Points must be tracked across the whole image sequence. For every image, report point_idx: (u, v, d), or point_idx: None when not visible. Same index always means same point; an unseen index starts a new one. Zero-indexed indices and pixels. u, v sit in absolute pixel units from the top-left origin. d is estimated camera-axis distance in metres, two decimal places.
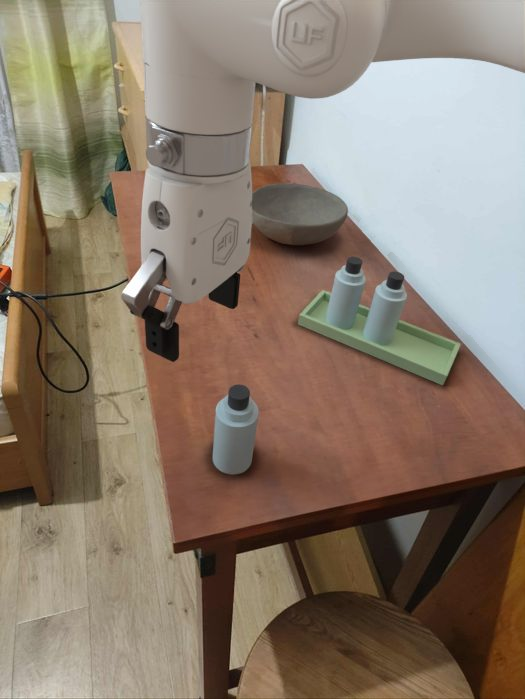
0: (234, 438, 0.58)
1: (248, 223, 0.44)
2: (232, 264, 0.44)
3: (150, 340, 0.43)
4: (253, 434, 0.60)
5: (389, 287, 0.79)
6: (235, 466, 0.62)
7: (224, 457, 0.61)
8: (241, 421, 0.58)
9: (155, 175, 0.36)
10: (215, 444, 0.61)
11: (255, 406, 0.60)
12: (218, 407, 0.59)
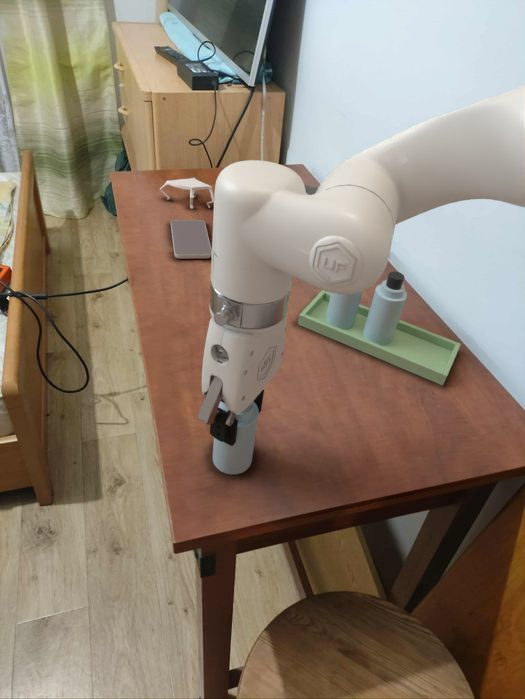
0: None
1: (282, 342, 0.55)
2: (270, 375, 0.55)
3: (215, 430, 0.57)
4: (253, 434, 0.60)
5: (389, 287, 0.79)
6: (235, 466, 0.62)
7: (224, 457, 0.61)
8: (241, 421, 0.58)
9: (217, 326, 0.47)
10: (215, 444, 0.61)
11: (255, 406, 0.60)
12: None
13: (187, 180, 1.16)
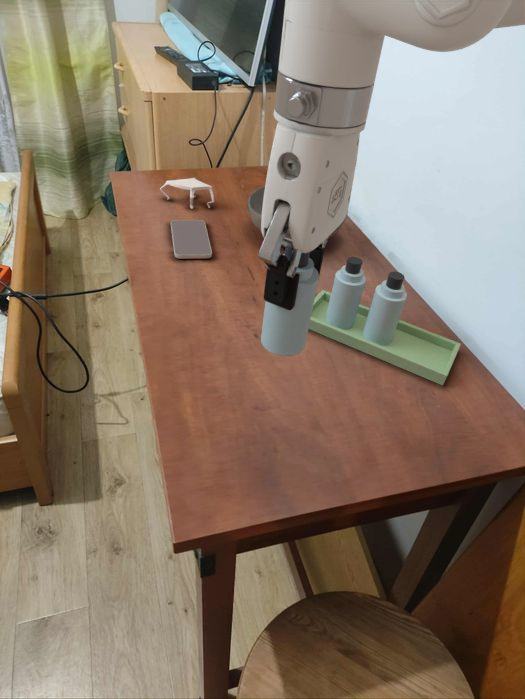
0: None
1: (352, 180, 0.47)
2: (337, 218, 0.47)
3: (272, 289, 0.48)
4: (312, 302, 0.52)
5: (389, 287, 0.79)
6: (289, 344, 0.54)
7: (277, 332, 0.53)
8: (300, 281, 0.50)
9: (287, 128, 0.39)
10: (266, 317, 0.53)
11: (314, 269, 0.52)
12: None
13: (187, 180, 1.16)
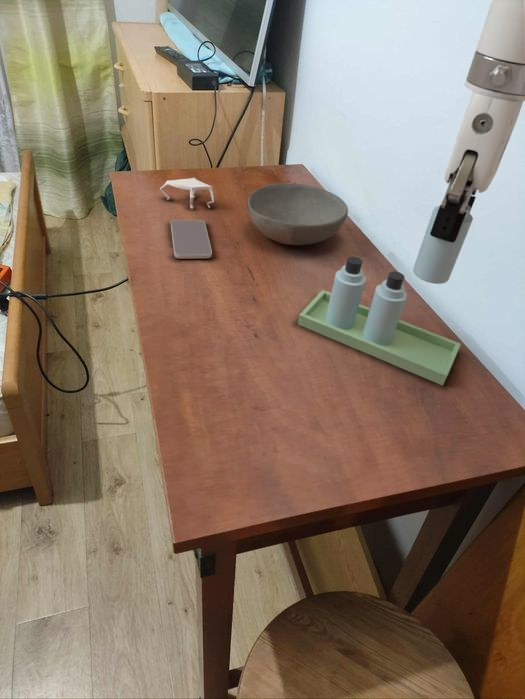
0: None
1: None
2: None
3: (442, 225, 0.63)
4: None
5: (389, 287, 0.79)
6: (442, 273, 0.68)
7: (434, 262, 0.67)
8: None
9: (484, 95, 0.53)
10: (426, 251, 0.67)
11: None
12: (435, 211, 0.65)
13: (187, 180, 1.16)
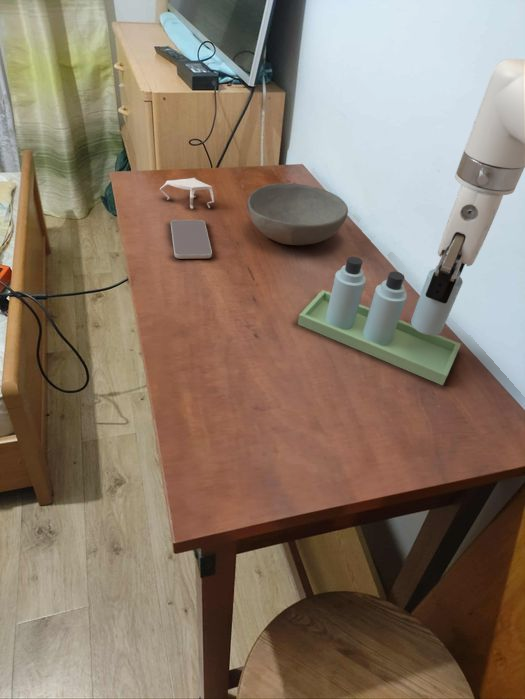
0: None
1: None
2: None
3: (436, 289, 0.72)
4: (455, 297, 0.76)
5: (389, 287, 0.79)
6: (436, 327, 0.78)
7: (429, 318, 0.77)
8: None
9: (471, 190, 0.63)
10: (421, 308, 0.77)
11: None
12: (430, 275, 0.75)
13: (187, 180, 1.16)
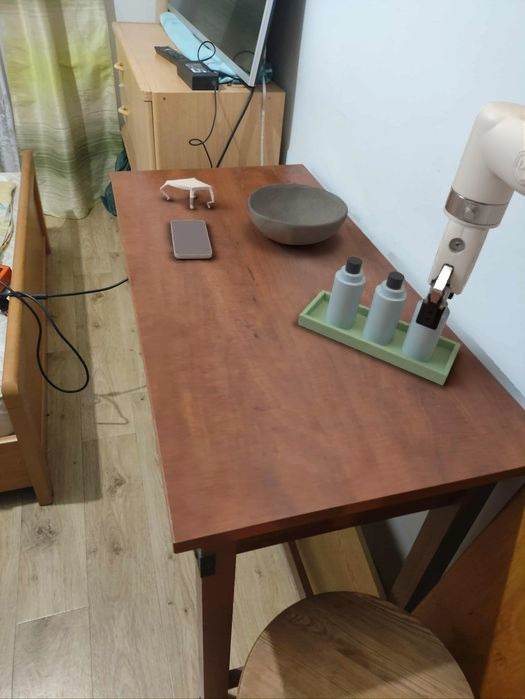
0: None
1: None
2: None
3: (425, 316, 0.73)
4: (443, 327, 0.79)
5: (389, 287, 0.79)
6: (425, 354, 0.81)
7: (418, 346, 0.81)
8: None
9: (458, 224, 0.66)
10: (411, 336, 0.81)
11: None
12: (419, 305, 0.78)
13: (187, 180, 1.16)
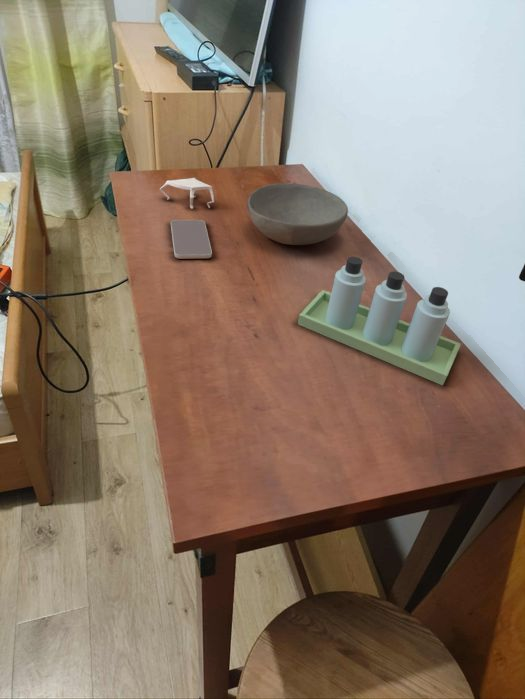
0: (433, 328, 0.78)
1: None
2: None
3: None
4: (443, 327, 0.79)
5: (389, 287, 0.79)
6: (425, 354, 0.81)
7: (418, 346, 0.81)
8: (439, 314, 0.77)
9: None
10: (411, 336, 0.81)
11: None
12: (419, 305, 0.78)
13: (187, 180, 1.16)
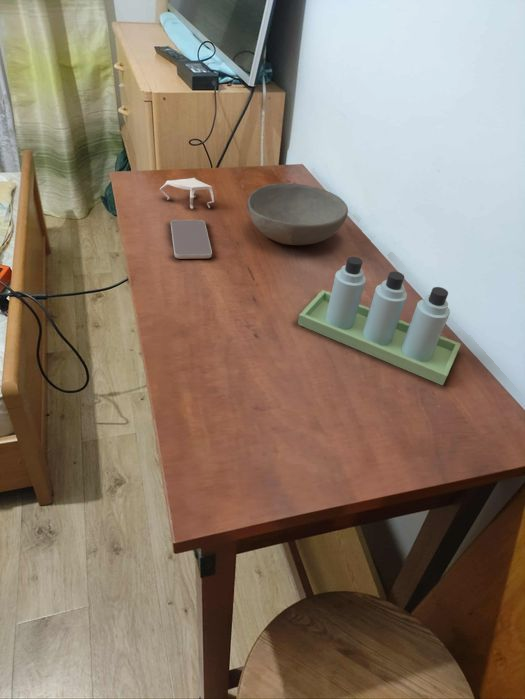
0: (433, 328, 0.78)
1: None
2: None
3: None
4: (443, 327, 0.79)
5: (389, 287, 0.79)
6: (425, 354, 0.81)
7: (418, 346, 0.81)
8: (439, 314, 0.77)
9: None
10: (411, 336, 0.81)
11: None
12: (419, 305, 0.78)
13: (187, 180, 1.16)
